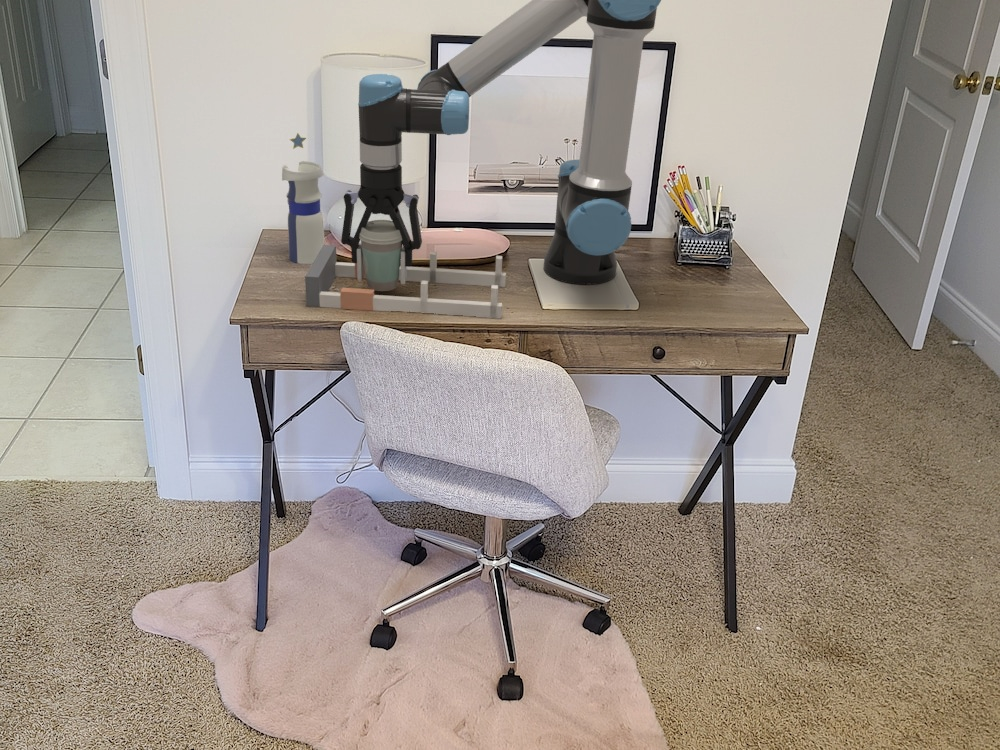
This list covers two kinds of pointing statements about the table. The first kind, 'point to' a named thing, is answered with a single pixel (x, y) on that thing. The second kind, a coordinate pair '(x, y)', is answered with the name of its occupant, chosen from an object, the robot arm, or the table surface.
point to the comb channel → (365, 299)
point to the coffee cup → (381, 254)
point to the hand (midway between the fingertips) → (382, 279)
